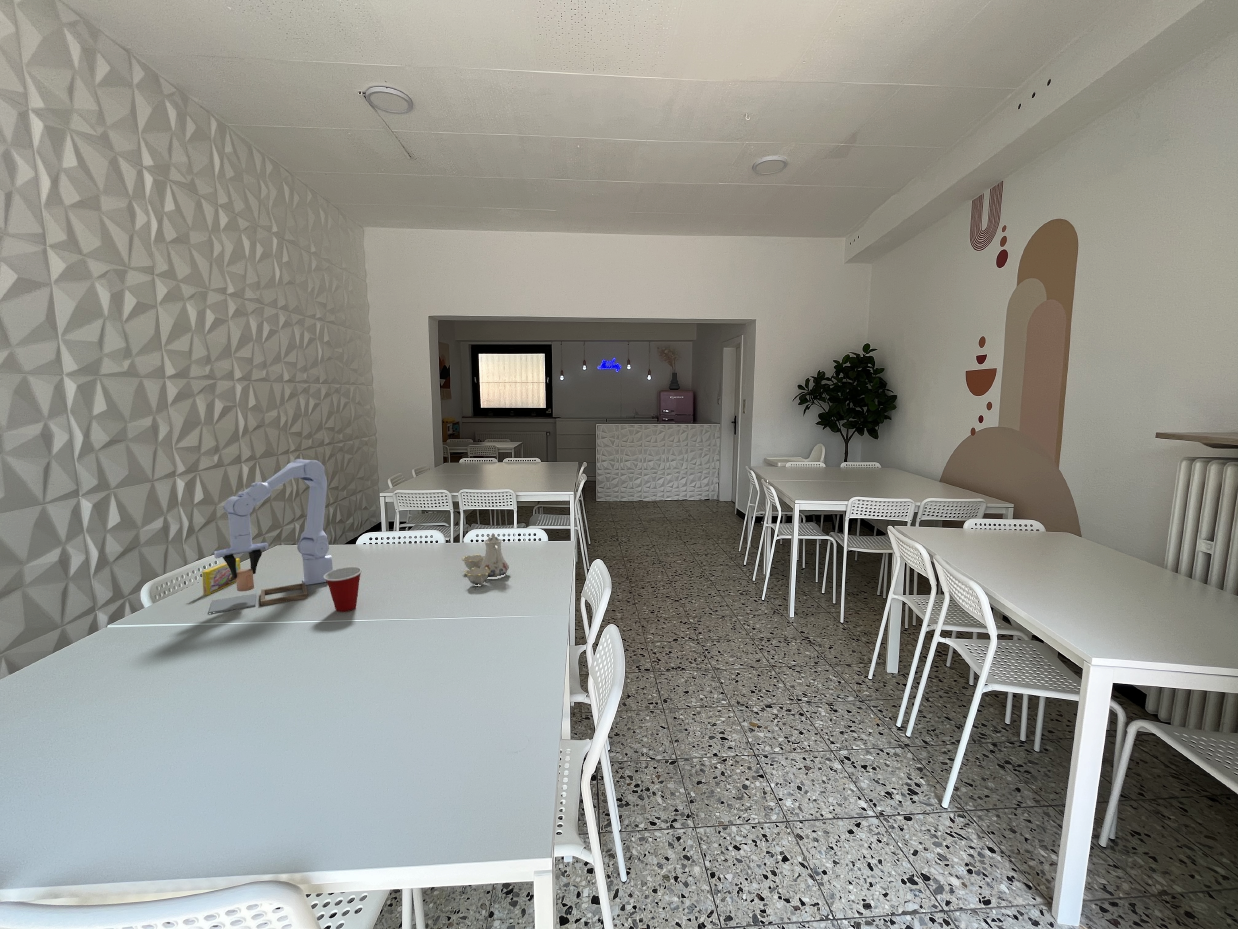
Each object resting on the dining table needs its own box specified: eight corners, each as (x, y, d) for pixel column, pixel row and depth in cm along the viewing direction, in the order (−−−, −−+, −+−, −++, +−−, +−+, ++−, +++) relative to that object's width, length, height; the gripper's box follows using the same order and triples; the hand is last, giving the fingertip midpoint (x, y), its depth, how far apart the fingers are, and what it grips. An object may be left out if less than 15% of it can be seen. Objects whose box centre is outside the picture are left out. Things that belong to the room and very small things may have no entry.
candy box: (209, 595, 189) (206, 571, 188) (202, 595, 189) (200, 571, 188) (242, 580, 205) (240, 558, 204) (236, 580, 205) (234, 558, 204)
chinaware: (458, 573, 216) (452, 531, 214) (501, 563, 223) (495, 523, 220) (470, 596, 191) (463, 549, 188) (518, 584, 197) (512, 539, 195)
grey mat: (256, 595, 189) (256, 593, 189) (255, 606, 179) (255, 604, 178) (212, 602, 182) (212, 600, 182) (208, 614, 172) (208, 612, 172)
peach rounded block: (234, 589, 181) (232, 571, 180) (250, 585, 185) (248, 568, 184) (244, 593, 177) (242, 575, 177) (259, 589, 181) (258, 571, 180)
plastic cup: (318, 611, 174) (315, 574, 172) (349, 600, 183) (346, 564, 182) (341, 618, 169) (338, 579, 167) (371, 606, 178) (369, 569, 177)
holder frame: (305, 586, 197) (305, 582, 196) (307, 598, 186) (307, 593, 185) (261, 593, 190) (261, 589, 190) (261, 605, 179) (260, 601, 179)
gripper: (261, 528, 188) (265, 567, 189) (209, 536, 177) (213, 578, 178) (269, 531, 183) (272, 571, 185) (216, 539, 172) (220, 582, 174)
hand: (244, 575), depth 181 cm, fingers closed on peach rounded block, 5 cm apart
